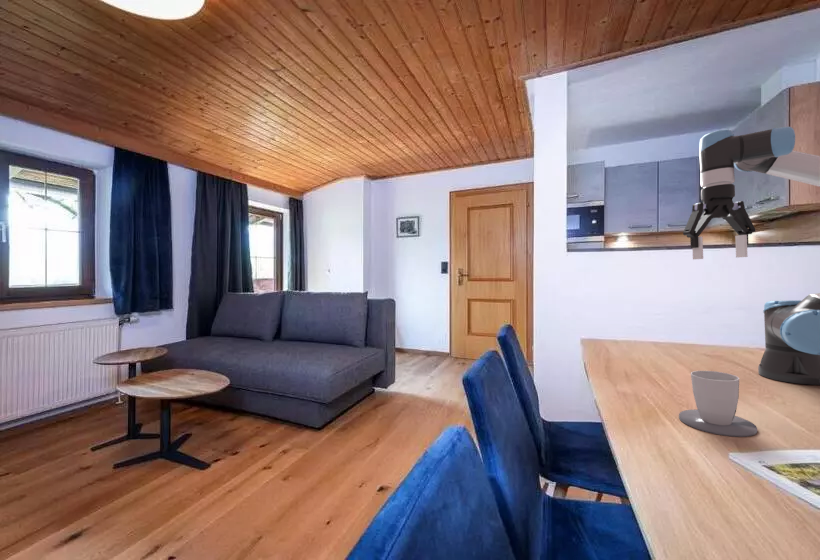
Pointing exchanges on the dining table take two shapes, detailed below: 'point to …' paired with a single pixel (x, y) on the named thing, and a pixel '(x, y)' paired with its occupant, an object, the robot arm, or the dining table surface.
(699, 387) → the cup
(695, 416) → the coaster
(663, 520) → the dining table surface
